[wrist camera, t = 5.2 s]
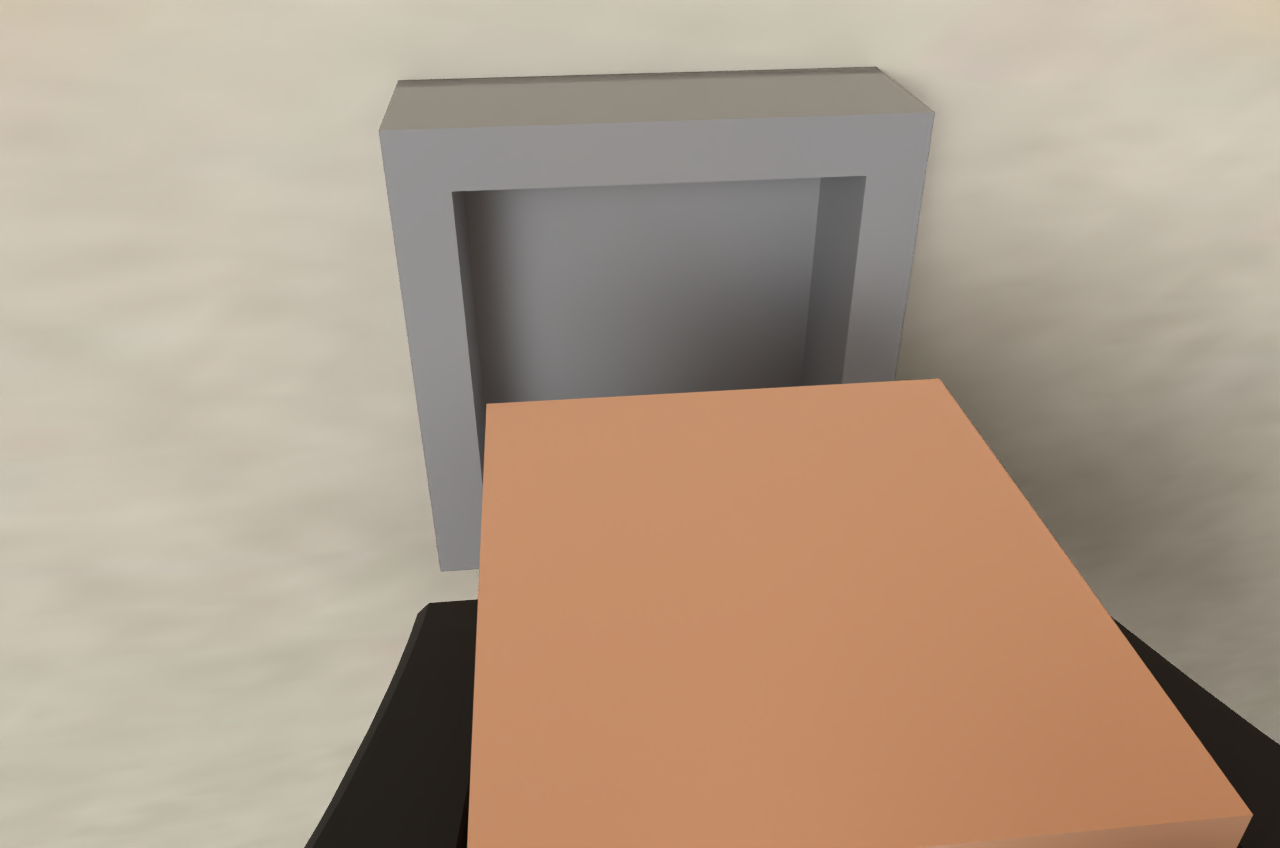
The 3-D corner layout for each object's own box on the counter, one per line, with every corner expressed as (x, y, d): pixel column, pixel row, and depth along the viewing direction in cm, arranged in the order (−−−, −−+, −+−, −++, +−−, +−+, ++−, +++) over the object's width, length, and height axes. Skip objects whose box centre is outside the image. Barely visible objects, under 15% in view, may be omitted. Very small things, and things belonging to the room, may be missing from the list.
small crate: (939, 378, 10) (1254, 814, 6) (882, 694, 12) (1075, 1168, 8) (486, 403, 10) (465, 889, 5) (517, 725, 12) (519, 1239, 8)
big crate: (875, 67, 15) (934, 112, 13) (830, 456, 19) (870, 541, 17) (398, 80, 14) (378, 130, 12) (449, 480, 18) (441, 571, 16)
